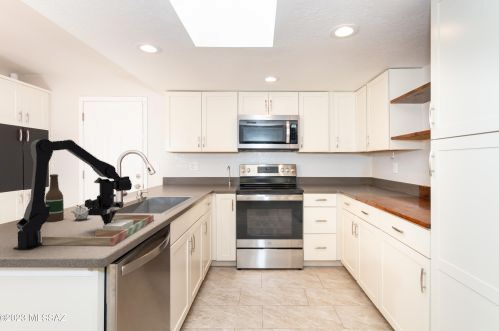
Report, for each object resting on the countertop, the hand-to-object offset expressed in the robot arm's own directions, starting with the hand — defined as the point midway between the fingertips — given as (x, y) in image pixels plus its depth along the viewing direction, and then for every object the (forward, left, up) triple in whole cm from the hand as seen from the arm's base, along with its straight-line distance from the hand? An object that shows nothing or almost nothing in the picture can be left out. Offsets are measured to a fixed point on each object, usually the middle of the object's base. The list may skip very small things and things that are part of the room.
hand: (107, 227), depth 120 cm
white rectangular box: (0, -5, -2) cm, 6 cm away
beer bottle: (+18, +38, -2) cm, 42 cm away
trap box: (0, 0, -2) cm, 2 cm away
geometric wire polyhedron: (+20, +25, -2) cm, 32 cm away
